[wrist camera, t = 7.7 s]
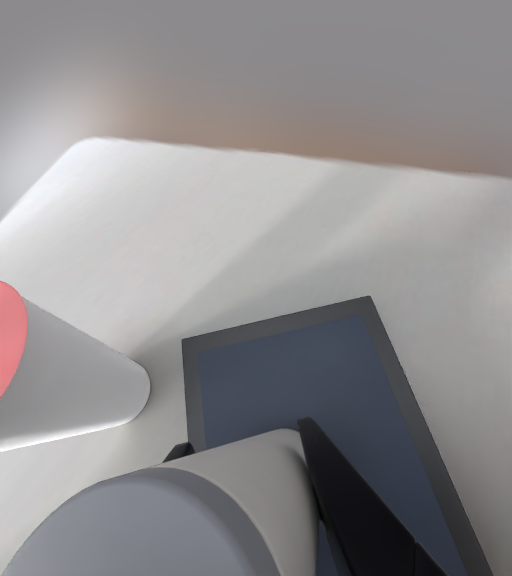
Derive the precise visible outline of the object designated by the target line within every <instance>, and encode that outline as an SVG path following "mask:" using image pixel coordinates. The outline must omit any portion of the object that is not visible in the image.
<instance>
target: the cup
mask: <svg viewBox="0 0 512 576" xmlns="http://www.w3.org/2000/svg"><path fill="white" fill-rule="evenodd" d="M149 394H150V379H149V376H148V373H147V372H146V370H145V369H144V368H143V367H142V366H141V365H139V364H137V363H136V362H134V361H132V360H131V359H129V358H127V357H126V356H124V355H123V354H121V353H119V352H117V351H116V350H114V349H112V348H111V347H109V346H107V345H105V344H104V343H102V342H100V341H98V340H97V339H95V338H93V337H91V336H90V335H88V334H86V333H84V332H83V331H81V330H79V329H77V328H76V327H74V326H72V325H70V324H69V323H67V322H65V321H63V320H62V319H60V318H58V317H56V316H55V315H53V314H51V313H49V312H47V311H46V310H44V309H42V308H40V307H39V306H37V305H35V304H33V303H32V302H30V301H28V300H27V299H25V298H23V297H21V296H20V294H19V293H18V292H17V291H16V290H15V289H14V288H13V287H12V286H10V285H9V284H7V283H5V282H2V281H0V452H1V451H6V450H11V449H15V448H20V447H24V446H29V445H34V444H38V443H43V442H47V441H52V440H56V439H61V438H66V437H70V436H75V435H79V434H84V433H88V432H93V431H97V430H102V429H105V428H109V427H114V426H118V425H122V424H125V423H127V422H129V421H131V420H133V419H134V418H135V417H136V416H137V415H138V414H139V413H140V412H141V411H142V409H143V408H144V406H145V405H146V403H147V400H148V398H149Z"/></svg>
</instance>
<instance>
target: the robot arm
mask: <svg viewBox="0 0 512 576" xmlns="http://www.w3.org/2000/svg"><path fill="white" fill-rule="evenodd" d="M297 424H298V429H299V433H300V438H301V442H302V447H303V451H304V456H305V460H306V464H307V468H308V473H309V477H310V481H311V485H312V489H313V493H314V496H315V500H316V503H317V507H318V511H319V517H320V521H321V524H322V527H323V530H324V533H325V536H326V539H327V542H328V545H329V548H330V551H331V554H332V557H333V560H334V563H335V566H336V569H337V572H338V575H339V576H449V575H448V574H447V573H446V572H445V571H444V570H443V569H442V567H441V566H440V565H439V564H438V563H437V562H436V561H435V559H434V558H433V557H432V556H431V555H430V554H429V553H428V551H427V550H426V549H425V548H424V547H423V546H422V544H421V543H420V542H416V538H415V537H414V535H413V534H412V533H411V532H410V531H409V530H408V528H407V527H406V526H405V525H404V524H403V523H402V521H401V520H400V519H399V518H398V517H397V516H396V515H395V513H394V512H393V511H392V510H391V509H390V508H389V506H388V505H387V504H386V503H385V502H384V501H383V499H382V498H381V497H380V496H379V495H378V494H377V492H376V491H375V490H374V489H373V488H372V487H371V486H370V484H369V483H368V482H367V481H366V480H365V479H364V477H363V476H362V475H361V474H360V473H359V472H358V470H357V469H356V468H355V467H354V466H353V465H352V463H351V462H350V461H349V460H348V459H347V458H346V456H345V455H344V454H343V453H342V452H341V451H340V450H339V448H338V447H337V446H336V445H335V444H334V443H333V441H332V440H331V439H330V438H329V437H328V436H327V434H326V433H325V432H324V431H323V430H322V429H321V427H320V426H319V425H318V424H317V423H316V422H315V421H314V419H313V418H311V417H307V418H302V419H298V420H297ZM192 454H195V451H194V448H193V446H192V444H191V443H189V442H187V443H183V444H178V445H176V446H175V447H174V448H173V449H172V450H171V452H170V453H169V454H168V456H167V457H166V458H165V460H164V461H163V462H162V463H165V462H168V461H172V460H175V459H179V458H182V457H185V456H189V455H192Z"/></svg>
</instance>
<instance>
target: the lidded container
mask: <svg viewBox="0 0 512 576" xmlns="http://www.w3.org/2000/svg"><path fill="white" fill-rule="evenodd" d="M319 527H320V517H319V511H318V507H317V503H316V500H315V496H314V493H313V489H312V485H311V481H310V477H309V473H308V468H307V464H306V460H305V456H304V451H303V447H302V442H301V438H300V433H299V431H297V430H295V429H291V428H280V429H277V430H273V431H270V432H266V433H263V434H260V435H256V436H253V437H250V438H246V439H243V440H239V441H236V442H233V443H229V444H226V445H222V446H219V447H216V448H212V449H209V450H206V451H202V452H199V453H195V454H192V455H189V456H185V457H182V458H179V459H175V460H172V461H168V462H165V463H162V464H158V465H155V466H151V467H148V468H145V469H141V470H138V471H135V472H131V473H128V474H124V475H121V476H118V477H114V478H111V479H108V480H104V481H101V482H98V483H96V484H94V485H92V486H90V487H88V488H86V489H84V490H82V491H80V492H79V493H77V494H76V495H74V496H73V497H71V498H70V499H68V500H67V501H66V502H64V503H63V504H62V505H61V506H60V507H58V508H57V509H56V510H55V511H54V512H52V513H51V514H50V515H49V516H48V517H47V518H46V519H45V520H44V521H43V522H42V523H41V524H40V525H39V526H38V527H37V528H36V529H35V530H34V532H33V533H32V534H31V535H30V536H29V537H28V539H27V540H26V541H25V542H24V544H23V545H22V546H21V547H20V549H19V550H18V551H17V553H16V554H15V556H14V557H13V559H12V560H11V562H10V563H9V565H8V566H7V568H6V569H5V571H4V572H3V574H2V575H1V576H316V575H317V559H318V543H319Z"/></svg>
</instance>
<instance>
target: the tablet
mask: <svg viewBox="0 0 512 576" xmlns="http://www.w3.org/2000/svg"><path fill="white" fill-rule="evenodd" d="M182 354H183V369H184V385H185V400H186V415H187V431H188V442H189V443H191V444H192V446H193V448H194V451H195V453H199V452H202V451H206V450H209V449H212V448H216V447H219V446H222V445H226V444H229V443H233V442H236V441H239V440H243V439H246V438H250V437H253V436H256V435H260V434H263V433H266V432H270V431H273V430H277V429H280V428H291V429H295V430H297V431H299V429H298V424H297V420H298V419H302V418H307V417H311V418H313V419H314V421H315V422H316V423H317V424H318V425H319V426H320V427H321V429H322V430H323V431H324V432H325V433H326V434H327V436H328V437H329V438H330V439H331V440H332V441H333V443H334V444H335V445H336V446H337V447H338V448H339V450H340V451H341V452H342V453H343V454H344V455H345V456H346V458H347V459H348V460H349V461H350V462H351V463H352V465H353V466H354V467H355V468H356V469H357V470H358V472H359V473H360V474H361V475H362V476H363V477H364V479H365V480H366V481H367V482H368V483H369V484H370V486H371V487H372V488H373V489H374V490H375V491H376V492H377V494H378V495H379V496H380V497H381V498H382V499H383V501H384V502H385V503H386V504H387V505H388V506H389V508H390V509H391V510H392V511H393V512H394V513H395V515H396V516H397V517H398V518H399V519H400V520H401V521H402V523H403V524H404V525H405V526H406V527H407V528H408V530H409V531H410V532H411V533H412V534H413V535H414V537H415V538H416V542H420V543H421V544H422V546H423V547H424V548H425V549H426V550H427V551H428V553H429V554H430V555H431V556H432V557H433V558H434V559H435V561H436V562H437V563H438V564H439V565H440V566H441V567H442V569H443V570H444V571H445V572H446V573H447V574H448V575H449V576H493V574H492V572H491V570H490V567H489V565H488V563H487V560H486V558H485V556H484V554H483V551H482V549H481V547H480V544H479V542H478V540H477V538H476V535H475V533H474V531H473V529H472V526H471V524H470V522H469V519H468V517H467V515H466V513H465V510H464V508H463V506H462V503H461V501H460V499H459V497H458V494H457V492H456V490H455V488H454V485H453V483H452V481H451V478H450V476H449V474H448V472H447V469H446V467H445V465H444V463H443V460H442V458H441V456H440V453H439V451H438V449H437V447H436V444H435V442H434V440H433V437H432V435H431V433H430V431H429V428H428V426H427V424H426V422H425V419H424V417H423V415H422V412H421V410H420V408H419V406H418V403H417V401H416V399H415V396H414V394H413V392H412V390H411V387H410V385H409V383H408V381H407V378H406V376H405V374H404V371H403V369H402V367H401V365H400V362H399V360H398V358H397V356H396V353H395V351H394V349H393V346H392V344H391V342H390V340H389V337H388V335H387V333H386V330H385V328H384V326H383V324H382V321H381V319H380V317H379V315H378V312H377V310H376V308H375V305H374V303H373V301H372V299H371V296H365V297H361V298H357V299H352V300H348V301H344V302H340V303H335V304H331V305H327V306H322V307H318V308H314V309H310V310H305V311H301V312H297V313H293V314H288V315H284V316H280V317H275V318H271V319H267V320H263V321H258V322H254V323H250V324H246V325H241V326H237V327H233V328H228V329H224V330H220V331H216V332H211V333H207V334H203V335H199V336H194V337H190V338H186V339H182ZM316 576H339V575H338V572H337V569H336V566H335V563H334V560H333V557H332V554H331V551H330V548H329V545H328V542H327V539H326V536H325V533H324V530H323V527H322V524H321V521H320V527H319V543H318V559H317V575H316Z"/></svg>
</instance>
